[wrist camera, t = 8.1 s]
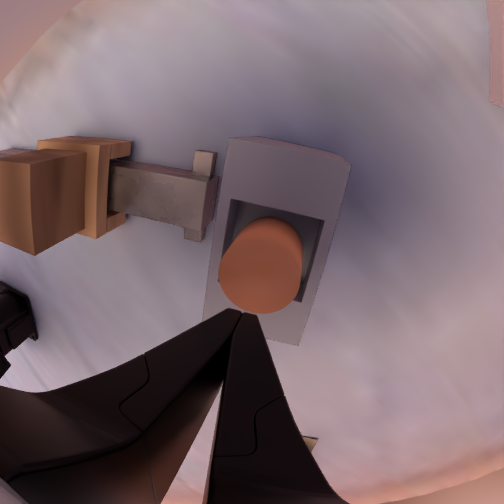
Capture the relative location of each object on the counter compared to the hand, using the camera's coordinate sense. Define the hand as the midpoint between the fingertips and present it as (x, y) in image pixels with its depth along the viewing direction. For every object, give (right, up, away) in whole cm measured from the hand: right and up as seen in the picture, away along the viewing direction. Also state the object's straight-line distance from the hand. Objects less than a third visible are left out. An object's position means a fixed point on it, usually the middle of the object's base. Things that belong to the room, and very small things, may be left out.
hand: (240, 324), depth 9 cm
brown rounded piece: (+1, +2, +5) cm, 6 cm away
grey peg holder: (+2, +4, +11) cm, 12 cm away
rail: (-13, +8, +13) cm, 20 cm away
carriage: (-11, +8, +13) cm, 19 cm away
